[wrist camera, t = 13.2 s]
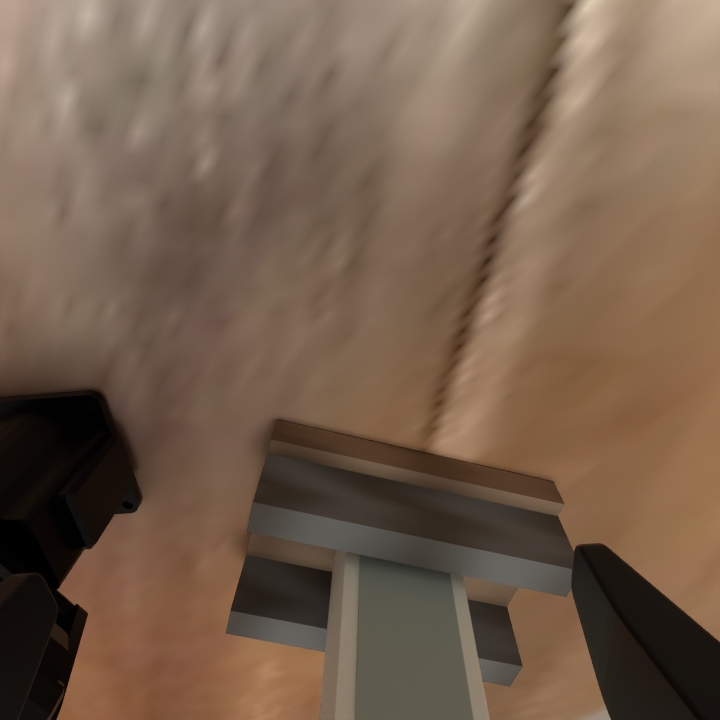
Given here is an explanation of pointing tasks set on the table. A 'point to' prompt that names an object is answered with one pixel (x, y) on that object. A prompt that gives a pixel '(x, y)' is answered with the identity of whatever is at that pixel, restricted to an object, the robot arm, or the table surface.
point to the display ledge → (394, 536)
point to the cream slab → (399, 644)
